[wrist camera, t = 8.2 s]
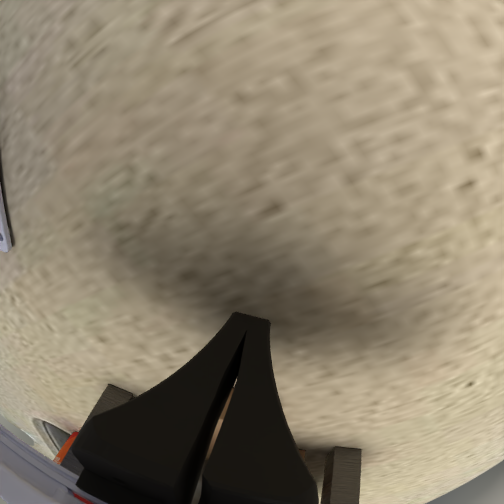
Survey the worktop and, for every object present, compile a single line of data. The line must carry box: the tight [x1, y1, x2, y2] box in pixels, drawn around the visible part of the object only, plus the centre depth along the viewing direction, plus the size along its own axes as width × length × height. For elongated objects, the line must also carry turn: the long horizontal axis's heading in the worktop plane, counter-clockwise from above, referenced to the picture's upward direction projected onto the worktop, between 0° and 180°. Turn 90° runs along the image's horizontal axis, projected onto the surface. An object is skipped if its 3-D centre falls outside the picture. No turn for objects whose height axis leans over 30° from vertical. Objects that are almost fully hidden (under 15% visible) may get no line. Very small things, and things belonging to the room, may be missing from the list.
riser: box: [60, 384, 361, 504], centre depth 17 cm, size 11×17×7 cm, turn 82°
